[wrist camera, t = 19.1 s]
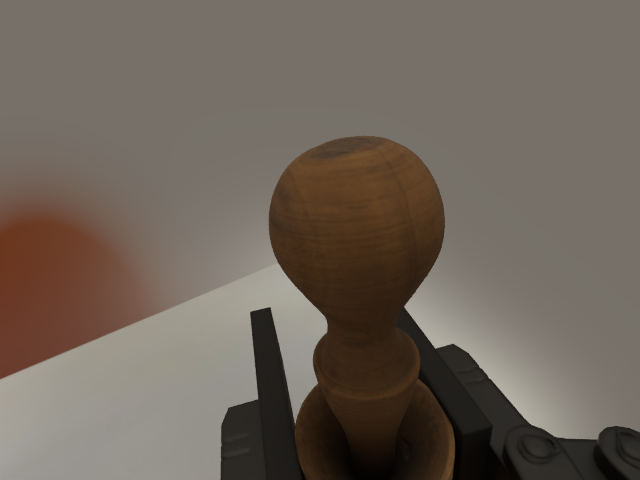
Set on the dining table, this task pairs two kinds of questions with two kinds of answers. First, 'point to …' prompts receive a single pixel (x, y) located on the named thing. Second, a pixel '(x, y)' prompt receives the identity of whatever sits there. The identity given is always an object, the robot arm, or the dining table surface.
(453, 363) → the robot arm
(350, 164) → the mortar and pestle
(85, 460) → the dining table surface
